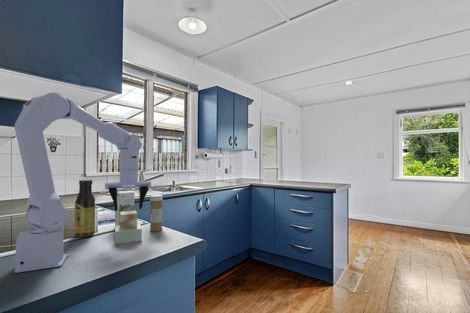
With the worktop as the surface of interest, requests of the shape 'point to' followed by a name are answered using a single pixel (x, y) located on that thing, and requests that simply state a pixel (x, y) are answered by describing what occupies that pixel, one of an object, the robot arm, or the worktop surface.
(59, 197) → the robot arm
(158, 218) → the sprinkles bottle
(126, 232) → the sage block
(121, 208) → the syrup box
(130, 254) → the worktop surface
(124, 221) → the birch cube
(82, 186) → the sauce bottle
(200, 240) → the worktop surface
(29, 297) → the worktop surface
